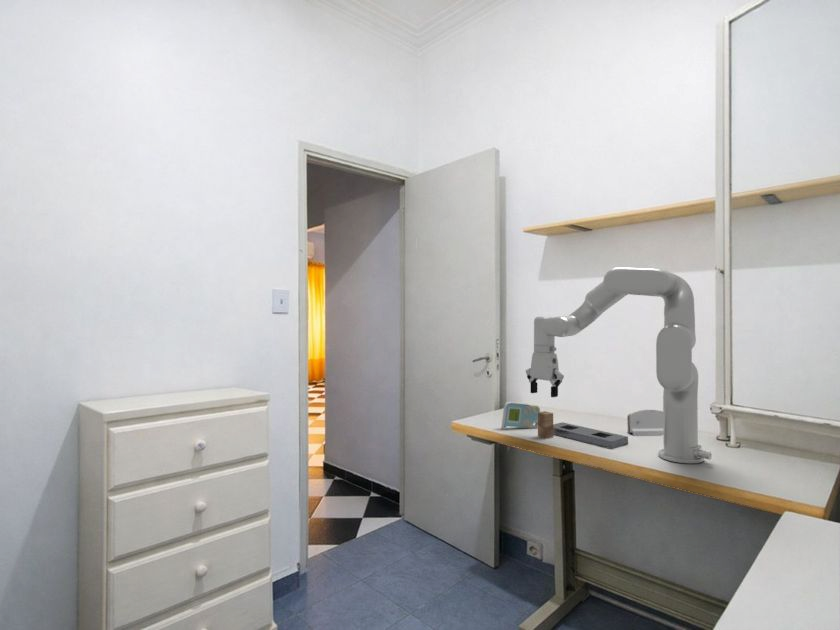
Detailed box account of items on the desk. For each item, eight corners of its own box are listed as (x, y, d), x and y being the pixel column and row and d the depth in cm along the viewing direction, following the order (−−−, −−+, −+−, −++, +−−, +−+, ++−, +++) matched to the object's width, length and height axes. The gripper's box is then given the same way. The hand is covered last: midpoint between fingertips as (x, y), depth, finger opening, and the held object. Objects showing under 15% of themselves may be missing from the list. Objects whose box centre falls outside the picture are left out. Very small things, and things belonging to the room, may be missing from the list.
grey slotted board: (628, 443, 166) (627, 436, 166) (611, 448, 160) (611, 441, 160) (562, 428, 188) (562, 422, 188) (546, 432, 183) (545, 426, 183)
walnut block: (553, 436, 176) (553, 412, 176) (546, 438, 174) (546, 414, 174) (545, 434, 179) (544, 411, 179) (537, 436, 177) (537, 412, 177)
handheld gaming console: (538, 433, 190) (503, 430, 188) (536, 431, 193) (501, 428, 190) (542, 405, 190) (506, 402, 188) (539, 404, 193) (504, 401, 191)
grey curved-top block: (632, 436, 176) (628, 409, 179) (627, 437, 180) (623, 410, 184) (677, 435, 176) (672, 408, 179) (671, 436, 180) (666, 410, 184)
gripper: (569, 350, 172) (569, 397, 172) (533, 347, 186) (533, 390, 186) (556, 351, 167) (556, 399, 168) (519, 348, 182) (519, 392, 182)
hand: (543, 394), depth 177 cm, fingers open, 9 cm apart
